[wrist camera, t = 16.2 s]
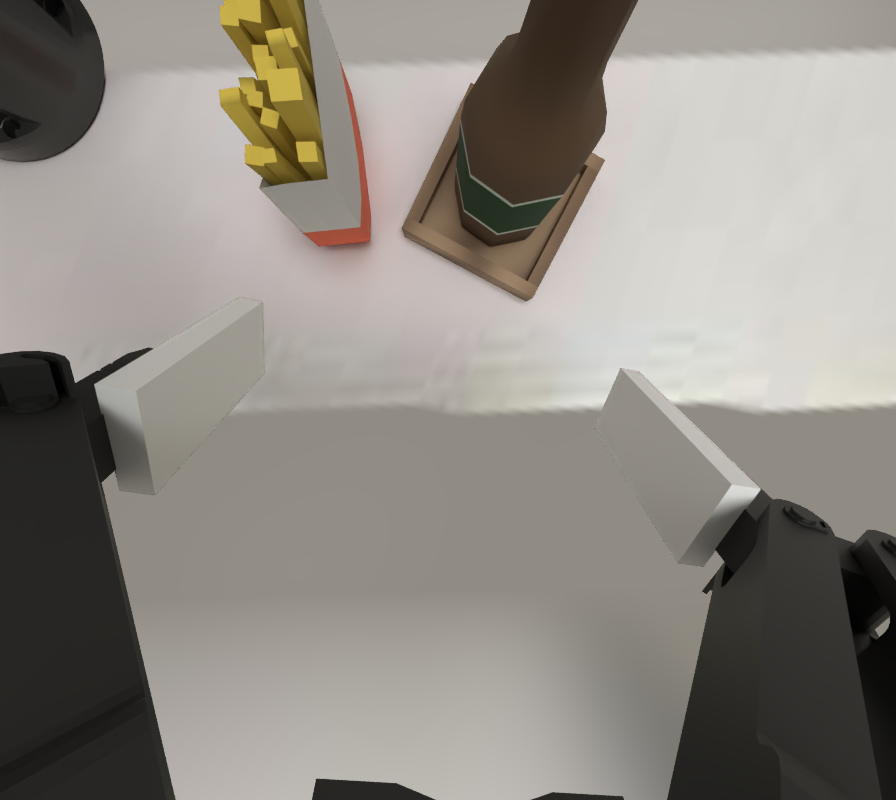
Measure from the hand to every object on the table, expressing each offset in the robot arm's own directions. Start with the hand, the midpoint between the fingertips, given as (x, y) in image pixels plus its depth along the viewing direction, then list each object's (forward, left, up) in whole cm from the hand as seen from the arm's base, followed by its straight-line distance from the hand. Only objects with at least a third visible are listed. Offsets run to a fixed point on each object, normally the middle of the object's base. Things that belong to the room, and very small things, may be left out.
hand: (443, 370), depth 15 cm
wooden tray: (-1, +14, -22) cm, 26 cm away
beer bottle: (-1, +14, -21) cm, 25 cm away
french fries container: (-14, +9, -22) cm, 27 cm away
